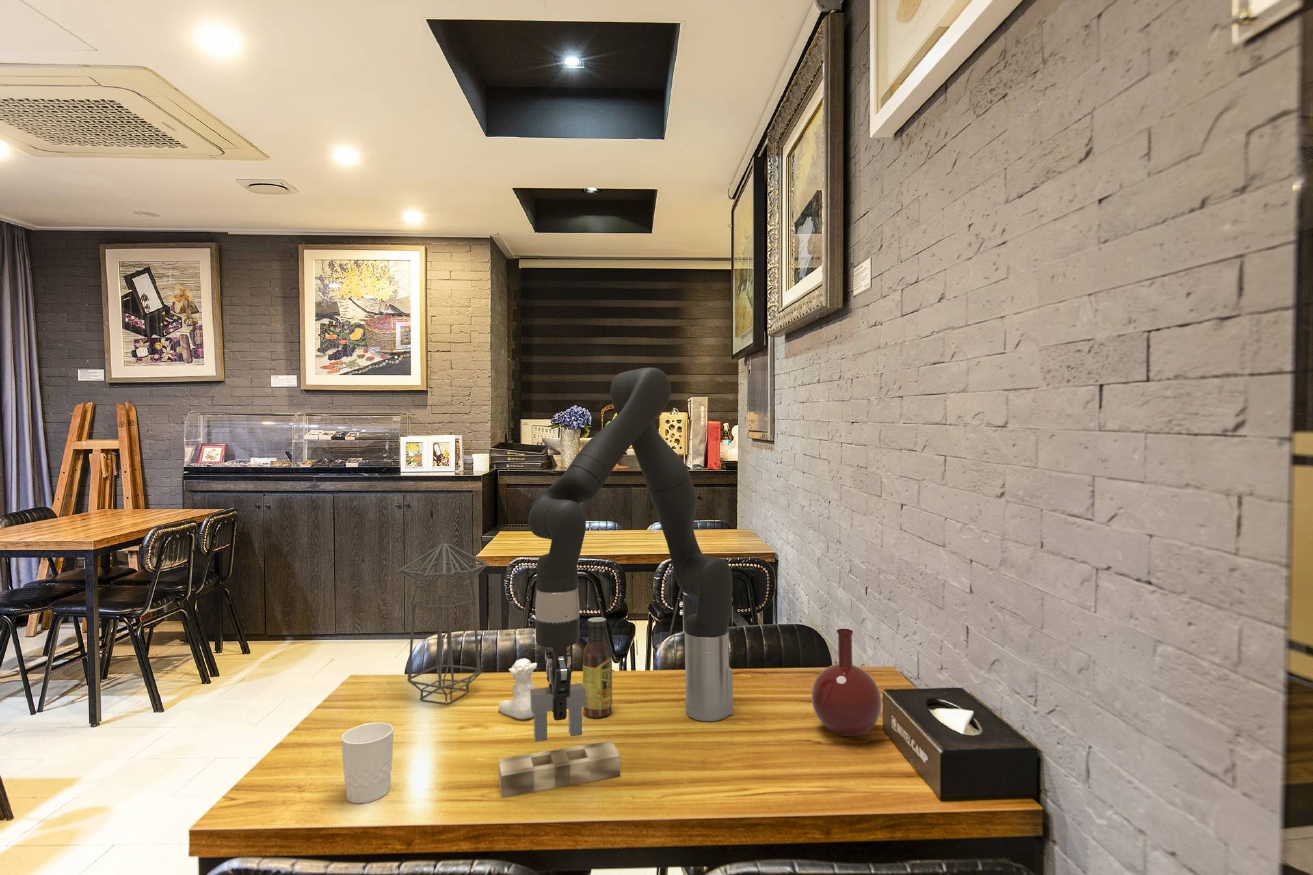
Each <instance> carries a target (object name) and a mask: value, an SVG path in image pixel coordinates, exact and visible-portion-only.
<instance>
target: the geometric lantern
mask: <svg viewBox="0 0 1313 875" xmlns="http://www.w3.org/2000/svg"><path fill="white" fill-rule="evenodd" d="M446 552H447V554H446ZM441 553H442V561H439V560H440V557H441ZM446 555H448V558H449V561H448V560H447V558H446V557H447V556H446ZM461 555H463V556H465V557H467V558H469V559H471V560H473V561H476V563H470V562H468V561H467V560H466V559H465V558H463V557H462V556H461ZM427 556H429V557H427ZM425 557H427V558H426V560H424V561H423V563H422V564H421V565H420V566H419V567H418V568H409V567H410V566H412V565H413V564H415V563H417V562H419V561H421V560H422V559H424V558H425ZM436 560H437V561H436ZM439 564H442V572H437V573H436V572H435V573H434V571H435V570H436V568H437V567H438V565H439ZM453 566H454V567H455V568H454V567H453ZM476 566H477V567H476ZM487 566H490V564H489V563H488V562H486V561H484V560H481V558H477V557H476V556H474V555H472V554H470V553H469V552H466V551H464V550H462V549H460V548H458V547H456V546H454V545H452V544H450V543H441V544H439V545H438V546H436V547H435V548H433V549H432V550H430V551H428V552H426V553H425V554H423V555H421V556H419V557H418V558H416V559H415V560H413V561H411V562H409V563H407V564H406V565H404V566H402V567H400V568H399V569H398V573H400V574H401V575H402V576H404V577H405V578H406V579H407V580H408V581H409V582H411V584H413V585H414V586H415V590H414V592H413V593H414V594H413V597H412V600H411V603H410V605H411V615H410V640H409V641H410V642H409V658H408V669H407V670H408V671H407V683H409V684H411V685H412V686H414V688H416V689H417V690H419V692H420V698H419V700H420V701H421V702H425V703H433V704H439V705H445V706H446V705H449V704H453V703H454V702H456V701H458V699H461V698H462V697H464V696H465V695H467V694H468V693H470V684H471V683H472V682H473V681H474V680H475V679H477V678H478V677H479V676H480V675H481V674H482V672H481V660H480V659H481V658H480V649H479V637H478V635H479V634H478V625H477V623H478V621H477V620H478V619H477V602H476V601H477V600H476V599H477V597H476V594H475V588H474V587H475V586H474V580H475V578H476V577H478V575H480V574H481V572H482V571H483V570H484V569H486V568H487ZM432 567H433V568H432ZM447 568H449V569H450V570H451V571H450V573H447ZM464 569H466V570H464ZM423 570H426V571H425V573H424V572H422V571H423ZM430 570H431V571H430ZM469 573H470V574H469ZM413 574H414V575H413ZM465 574H469V575H465ZM420 575H421V576H423V578H420ZM456 575H457V576H456ZM435 576H437V577H435ZM443 576H452V577H453V578H454V579H455V582H454V583H453V585H452V587H451V588H450V590H449V592H448V593H447V594H440V593H439V591H438V590H437V589H436V588H435V586H434V585H433V583H435V582H437V581H438V580H439V579H441V578H442V577H443ZM431 577H435V578H434V579H432V580H431V581H430V579H431ZM461 578H462V580H460V579H461ZM465 579H466V581H465ZM468 579H469V580H468ZM420 582H424V584H420ZM427 582H428V583H427ZM457 583H458V585H457ZM456 585H457V586H456ZM466 585H467V587H468V590H469V594H470V596H468V595H467V596H466V595H455V594H456V592H457V590H458V589H459V587H460V586H461V587H465V586H466ZM420 588H422V589H423V588H427V589H428V590H429V593H430V594H431V595H432V596H431V597H428V598H425V599H422V600H418V601H417V597H418V593H419V589H420ZM432 588H433V589H434V591H435V592H436V594H437V595H436V594H435V593H434V591H433V590H432ZM453 590H454V591H453ZM452 592H453V593H452ZM451 593H452V594H451ZM442 598H446V604H445V605H442ZM452 598H463V599H470V600H467V601H462V602H459V603H457V604H454V605H450V602H451V600H453V599H452ZM430 600H435V602H436V603H437V605H428V604H419V603H423V602H426V601H430ZM468 603H471V604H472V615H473V626H474V646H475V647H474V648H475V667H472V666H462V665H455V664H454V656H453V640H452V621H451V619H452V618H451V608H453V607H454V608H455V607H457V606H461V605H464V604H468ZM417 607H421V608H422V607H424V608H425V607H426V608H435V609H438V612H437V613H438V614H437V615H438V616H437V631H436V632H437V634H436V635H437V636H436V655H435V666H433V667H430V668H428V669H426V670H422V671H421V672H419V673H416V674H414V675H412V670H413V669H412V667H413V666H412V665H413V664H412V663H413V646H414V634H415V621H416V610H417V609H416V608H417ZM443 609H446V642H447V643H446V647H447V648H446V651H447V653H446V654H447V657H446V658H447V660H446V662H447V664H442V663H443V662H442V659H443V658H442V655H443V654H442V653H443V651H442V647H443V646H442V645H443V644H442V640H443V639H442V638H443V633H442V631H443V616H442V614H443V612H442V611H443ZM442 668H446V670H445V672H444V675H443V678H442ZM449 668H450V677H451V678H450V679H448V678H446V677H447V673H448V670H449ZM454 668H455V669H465V670H472V671H474V672H473V673H472V674H471V675H469V676H467V677H464V678H462V679H460V680H459V679H455V676H454ZM435 669H436V673H437V678H438V680H436V681H433V682H431V683H428V682H427V683H426V682H421V681H415V680H413V679H414V678H417V677H420V676H422V675H424V674H426V673H429V672H430V671H433V670H435ZM446 682H451V683H447V684H445V683H446ZM436 683H437V684H436ZM461 683H464V684H463V685H461V686H459V687H455V686H456V685H459V684H461ZM419 686H423V687H422V688H421V687H419ZM427 688H435V689H433V690H425V689H427ZM445 689H450V690H449V692H446V690H445ZM437 690H441V691H442V692H441V691H440V692H439V691H437ZM458 690H459V691H466V692H464V693H463V694H461V695H459V696H457V697H455V699H453V693H455V692H456V691H458ZM424 693H426V694H425V695H424ZM431 694H437V695H442V696H443V695H444V696H445V697H444V698H445V699H444V700H445V702H444V701H438V700H429V699H424V698H426V697H427V696H429V695H431ZM448 695H450V698H449V699H450V700H449V701H448Z"/></svg>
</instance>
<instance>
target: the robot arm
mask: <svg viewBox="0 0 1313 875" xmlns="http://www.w3.org/2000/svg"><path fill="white" fill-rule="evenodd" d="M609 388H610V392H609V393H610V399H611V402H612V405H613V409H614V411H615V413H616V416H615V417H614V418H613V419H612V420H611V421H610V422H609V423H607V424H606V426H604V427H603V428H602V429H601V430H600V431H598V432H597V433H595V435H594V436H592V438H590V439H589V440H588V441H587V442H586V443H585V444H584V445H583V447H581V448H580V450H579V451H578V453H577V454H576V456H575V457H574V458H573V459H572V461H571V463H570V464H569V466H568V467H567V469H566V470H565V472H564V473H563V474H562V475H561V476H560V477H559V478H557V479H556V480H555V481H554V482H553V483H552V484H551V485H550V486H549V487H548V488H547V489H546V490H544V491H543V492H542V493H541V494H540V496H538V497H537V499H536V500H535V501H534V503H533V504H532V506H531V508H530V511H529V513H528V519H527V520H528V522H527V523H528V528H529V529H530V532H531V533H532V534H533V535H534V536H536V537H537V538H540V539H545V540H551V541H550V548H549V551H548V553H545V554H543V555H540V556H539V557H538V559H537V562H536V595H535V609H534V610H535V616H534V618H535V620H534V621H535V642H536V644H537V645H538V646H540V647H543V648H545V650H544V659H545V663H546V664H545V665H546V666H545V667H546V668H545V674H546V680H547V683H548V684H547V687H552V693H553V694H552V697H553V711H550V712H551V713H552V717H553V720H554V721H555V722H556V721H563V720H566V719H567V718H568V717H567V716H568V714H567V713H568V712H567V711H568V709H567V697H570V684H571V681H572V672H573V669H572V668H571V665H572V657H571V656H572V655H571V653H569V650H568V648H569V647H570V646H573V645H575V644H577V643H578V642H579V640H580V597H579V591H578V590H579V589H578V585H579V584H578V583H579V582H578V580H579V579H578V578H579V576H578V575H579V574H578V573H579V572H578V562H579V559H580V557H581V552H582V548H583V545H584V544H583V542H584V541H585V540H584V539H585V534H586V528H587V522H586V515H585V513H584V509H583V508H582V506H581V505H580V504H581V503H585V502H589V501H590V500H593V499H594V498H595V497H596V496H597V495H598V494H599V492H600V491H601V488H603V485H604V484H605V483H606V482H607V480H608V478H609V476H610V475H611V473H612V472H613V470H614V469H615V467H616V466H617V465H618V463H619V462H620V460H621V459H622V457H623V456H624V455H625V453H626V452H627V451H628V450H629V449H630V447H632V450H633V452H634V455H635V457H636V461H637V463H638V465H639V468H640V471H641V473H642V477H643V478H644V482H645V486H646V489H647V491H648V493H649V496H650V500H651V503H652V505H653V507H654V510H655V513H656V515H657V518H658V521H659V524H660V527H661V530H662V532H663V535H664V539H665V542H666V544H667V547H668V553H669V556H670V560H671V565H672V570H673V574H674V576H675V581H676V584H677V585H678V587H679V589H680V590H681V591H682V592H683V593H684V594H685V595H687V596H689V597H692V598H694V599H697V600H698V601H697V602H698V604H697V612H695V613H692V614H690V615H688V616H686V618H685V620H684V662H685V663H684V666H685V673H684V674H685V712H686V716H688V717H689V718H691V719H693V720H697V721H703V722H715V721H721V720H723V719H726V718H727V717H729V716H733V715H734V694H733V693H734V688H733V687H734V682H733V677H734V676H733V673H734V672H733V669H732V668H731V667H730V665H729V664H730V663H729V662H730V661H729V660H730V659H729V624H730V621H731V617H732V609H733V605H732V604H733V573H732V570H731V567H730V565H729V563H728V561H726V560H724V559H723V558H720V557H716V556H710V555H708V554H707V555H705V554H704V553H703V552H702V550H701V548H700V546H699V542H698V541H697V538H696V535H695V529H694V523H695V516H696V511H697V502H698V501H697V500H698V498H697V493H696V489H695V486H694V483H693V480H692V477H691V475H690V472H689V469H688V467H687V466H686V464H685V462H684V461H683V459H682V458H681V457H680V455H678V453H677V452H676V451H675V450H674V449H673V448H672V447H671V445H669V444H668V442H667V441H666V440H665V439H664V438H663V436H662V435H661V434H660V432H659V430H658V429H657V427H656V424H655V422H654V420H655V419H656V418H657V417H658V416H659V415H660V414H661V413H662V412H663V410H664V409H665V408H666V406H667V405H668V403H669V402H670V398H671V396H672V395H671V394H672V388H671V383H670V379H669V377H668V376H667V374H666V373H665V372H664V371H663V370H662V369H660V368H657V367H642V368H638V369H633V370H627V371H623V372H620V373H618V374H616V375H615V377H614V378H613V379H612V381H611V384H610V387H609ZM560 688H564V690H560V691H558V690H559V689H560Z"/></svg>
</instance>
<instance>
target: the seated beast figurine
mask: <svg viewBox="0 0 1313 875" xmlns="http://www.w3.org/2000/svg"><path fill="white" fill-rule="evenodd" d="M537 665H538V663H537V662H531V660H529V659H528V658H526V657H525V658H519V659H516V660H515V662H514V664H513V665H512V666H511V668H508V670H509V672H510V675H511V676H512V678H513V679H514V685H513V690H512V701H511V700H509V699H504V700H502V701H499V704H498V710H499V711H500V713H501V714H503V715H505V716H508V717H511V718H514V719H516V720H519V721H520V720H522V721H523V720H528V719H532V718H534V714H532V710H531V707H530V689H536V687H535V684H534V682H533V679H532V678H531V677H532V675H533V673H534V670H536V668H537Z"/></svg>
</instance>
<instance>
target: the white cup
mask: <svg viewBox="0 0 1313 875" xmlns="http://www.w3.org/2000/svg"><path fill="white" fill-rule="evenodd" d="M393 726H394V725H392V724H390V723H389V722H388V723H386V722H369V723H364V724H360V725H357V726H354V727H352V728H350V729H348V730H346V731H344V733H343V734H342V736H341V751H342V752H341V753H342V754H341V755H342V765H343V767H342V768H343V770H342V771H343V777H344V778H343V779H344V781H343V782H344V783H345V796H346V800H347V801H349V802H350V803H352V804H365V803H371V802H375V801H376V800H379V799H381V798H382V797H384V796H385V795H387V794H388V793H389V791H390V789H391V785H392V784H391V781H392V780H391V779H392V778H391V777H392V774H391V773H392V769H393V751H394V750H393V748H394V727H393Z"/></svg>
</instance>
